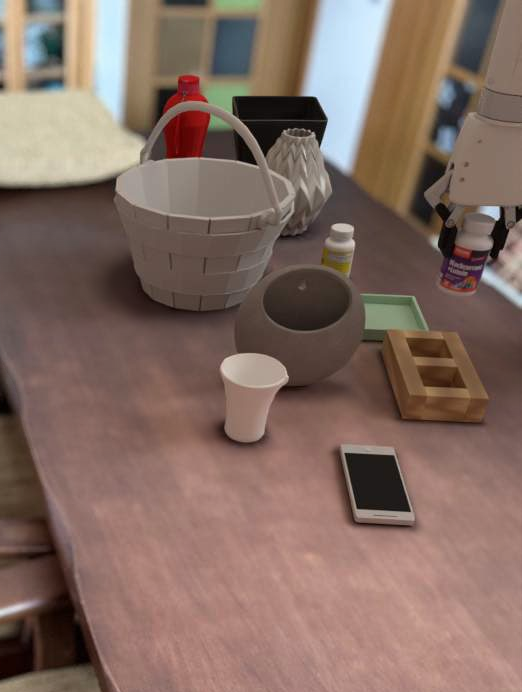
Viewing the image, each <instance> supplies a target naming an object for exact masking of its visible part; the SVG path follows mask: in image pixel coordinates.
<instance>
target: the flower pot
mask: <svg viewBox="0 0 522 692" xmlns="http://www.w3.org/2000/svg"><path fill="white" fill-rule="evenodd" d="M231 111H232V113H231V114H232V115H234V116H236V117H237V118H238V119H239V120H240V121H241V122H242V123H243V124H244V125H245V126H246V127H247V128H248V129H249V131H250V132H251V134H252V135H253V136H254V138H255V139H256V141H257V143H258V145H259V147H260V149H261V151H262V153H263V155H264V157H265V158H266V156H267V154H268V151H269V150H270V149H271V148H272V147H273V146H274V145H275V144H276V141H277V139H278V138H280V137H281V134H282V132H283V131H284V130H288V129H295V128H297V129H305V130H310V132H314V133H315V138H316V140H317V141H318V146H319V149H320V150H321V146H322V143H323V139H324V136H325V133H326V130H327V126H328V124H329V123H328V122H329V118H328V115H327V114H326V113H325V111H324V109H323V107H322V104H321V103H320V101H319V99H318V97H317V96H313V95H312V96H311V95H233V96H232V97H231ZM232 129H233V139H234V140H233V141H234V148H235V149H234V150H235V156H236V161H240V162H244V163H248V164H252V165H256V166H258V164H257V162H256V160H255V158H254V155H253V153H252V151H251V150H250V148H249V147H248V145H247V144H246V142H245V141H244V139H243V138H242V137H241V136H240V135H239V133H238V132H237V131H236V130H235V129H234V128H233V127H232Z"/></svg>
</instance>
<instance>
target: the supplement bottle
mask: <svg viewBox="0 0 522 692" xmlns="http://www.w3.org/2000/svg"><path fill="white" fill-rule="evenodd" d="M354 232H355V227H354V226H353V225H351V224H348V223H335V224H332V225H331V227H330V232H329V235H330V236H329V237H327V238H326V239H325V241H324V244H323V249H322V255H321V261H320V265H322V266H326V267H330V268H333V269H335V270H337V271H339V272H341V273H343V274H344V275H346V276H347V277H348V278H349V279H350V274H351V269H352V264H353V258H354V253H355V250H356V242H355V240H354V239H353V237H354Z"/></svg>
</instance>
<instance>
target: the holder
mask: <svg viewBox="0 0 522 692" xmlns="http://www.w3.org/2000/svg"><path fill="white" fill-rule="evenodd" d="M380 353H381V357H382V360H383V363H384V366H385V369H386V372H387V375H388V378H389V382H390V384H391V387H392V390H393V394H394V397H395V400H396V403H397V406H398V409H399V412H400V415H401V418H402V419H403V420H421V421H440V422H459V423H478V424H479V423H482V420H483V417H484V414H485V412H486V409H487V407H488V404H489V400H490V397H489V395H488V393H487V391H486V389H485V387H484V385H483V383H482V381H481V378H480V377H479V375H478V372H477V371H476V368H475V366H474V364H473V362H472V361H471V358H470V356H469V353H468V352H467V350H466V347H465V346H464V344H463V342H462V339H461V338H460V335H459V334H458V332H456V331H440V330H439V331H438V330H437V331H435V330H429V331H418V330H397V329H386V332H385V336H384V340H383V341H382V345H381V348H380Z"/></svg>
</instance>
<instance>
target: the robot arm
mask: <svg viewBox="0 0 522 692" xmlns="http://www.w3.org/2000/svg"><path fill="white" fill-rule="evenodd" d="M490 55H491V56H490V59H489V62H488V66H487V70H486V73H485V78H484V82H483V85H482V88H481V93H480V95H479V98H478V99H479V100H478V103H477V108H476V111H474V112H472V111H471V112H468V114H467V116H466V118H465V120H464V122H463V124H462V126H461V129H460V131H459V133H458V135H457V138H456V141H455V143H454V146H453V149H452V152H451V155H450V157H449V160H448V163H447V166H446V170H445V172H444V174H443V175H442V176H441V177H440V178H439V179H438V180H437V181H435V183H433V184H432V185H431V186H430V187H429V188H427V190H425V191H424V192H423V197H424V199H425V200H426V202H427V203H428V204H429V205H430V206H431V207H432V209H433V210H434V211H435V212H436V214H437V215H438V217H439V218H440V219H441V220H442V225H441V228H440V232H439V236H438V240H437V249H439V251H440V253H441V255H442V256H443V259H444V258H449V257H450V256H451V253H452V249H453V246H454V242H455V239H456V235H457V232H458V229H459V228H458V227H457V223H458V221H459V219H460V217H461V216H462V214H463V213H464V211H465V210H466V208H467V207H468V206H469V207H471V206H472V207H498V208H499V218H498V219H497V220H496V219H495V220H496V222H495V225H494V228H493V230H492V233H490V234H489V235H491V236H492V238H493V241H494V244H493V247H492V250H491V252H490V255H489V258H491V260H497V259H498V258H499V256H500V252H501V251H503V250H504V249H505V247H506V243H507V239H508V236H509V233H510V230H512V229H514V228H515V226H516V225H517V223H518V222H520V221H521V220H522V0H506V1H505V4H504V7H503V10H502V15H501V19H500V22H499V26H498V29H497V33H496V37H495V41H494V45H493V48H492V52H491V54H490ZM444 193H445V194H447V195H448V200H449V202H447V205H446V204H445V203H444V202H443V200H442V199H441V195H442V194H444Z"/></svg>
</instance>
